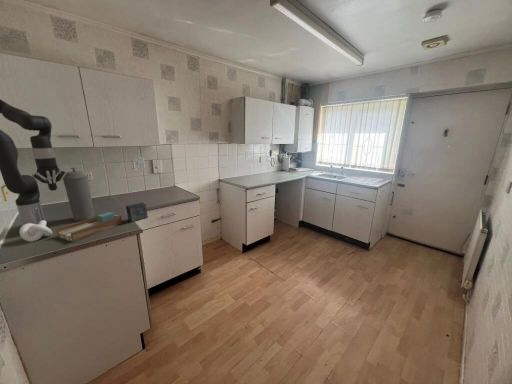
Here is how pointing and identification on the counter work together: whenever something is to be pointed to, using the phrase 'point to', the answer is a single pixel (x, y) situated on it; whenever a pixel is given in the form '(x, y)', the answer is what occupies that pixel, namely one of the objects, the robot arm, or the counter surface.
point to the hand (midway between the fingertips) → (53, 190)
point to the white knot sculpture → (34, 231)
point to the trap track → (86, 228)
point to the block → (105, 216)
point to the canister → (79, 195)
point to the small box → (136, 212)
